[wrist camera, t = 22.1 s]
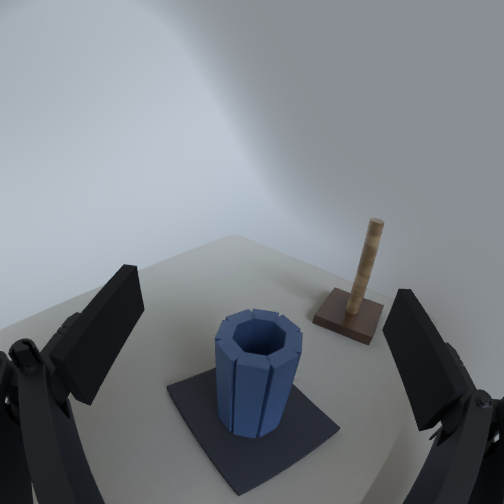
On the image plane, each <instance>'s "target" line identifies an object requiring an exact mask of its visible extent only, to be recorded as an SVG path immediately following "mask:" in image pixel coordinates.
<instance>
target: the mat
mask: <svg viewBox="0 0 504 504" xmlns="http://www.w3.org/2000/svg"><path fill="white" fill-rule="evenodd" d="M167 390H168V392H169V394H170V396H171V398H172V399H173V401H174V403H175V405H176V407H177V408H178V410H179V412H180V413H181V415H182V417H183V418H184V420H185V422H186V423H187V425H188V427H189V428H190V430H191V431H192V433H193V435H194V436H195V438H196V439H197V441H198V442H199V444H200V445H201V447H202V448H203V450H204V451H205V453H206V454H207V456H208V457H209V458H210V460H211V461H212V463H213V464H214V465H215V467H216V468H217V470H218V471H219V472H220V474H221V475H222V476H223V478H224V479H225V480H226V481H227V483H228V484H229V485H230V487H231V488H232V489H233V490H234V492H235V493H236V494H237V495H238V496H240V495H242V494H244V493H246V492H248V491H249V490H251V489H253V488H255V487H257V486H259V485H260V484H262V483H264V482H266V481H267V480H269V479H271V478H272V477H274V476H276V475H277V474H279V473H280V472H282V471H284V470H285V469H287V468H288V467H290V466H291V465H293V464H294V463H296V462H297V461H299V460H300V459H302V458H303V457H305V456H306V455H307V454H309V453H310V452H312V451H313V450H314V449H316V448H317V447H318V446H320V445H321V444H322V443H324V442H325V441H326V440H327V439H329V438H330V437H331V436H332V435H334V434H335V433H336V432H337V431H338V430H339V429H340V427H339V426H338V425H337V424H335V423H334V422H333V421H332V420H331V419H330V418H329V417H328V416H327V415H325V414H324V413H323V412H322V411H321V410H320V409H319V408H318V407H317V406H316V405H315V404H313V403H312V402H311V401H310V400H309V399H308V398H307V397H306V396H305V395H304V394H303V393H302V392H301V391H300V390H299V389H298V388H296V387H295V386H294V385H293V384H292V386H291V389H290V393H289V396H288V399H287V402H286V405H285V408H284V411H283V414H282V417H281V420H280V423H279V425H277V428H275V429H274V430H272V431H270V432H269V433H267V434H265V435H263V436H262V437H260V438H259V437H258V436H257V435H256V438H250V437H244V436H239V435H234V434H233V431H232V432H229V431H228V429H227V428H226V427H225V425H224V424H223V423H222V421H221V420H220V419H219V417H218V405H217V383H216V368H214V369H212V370H209V371H207V372H204V373H201V374H199V375H196V376H194V377H191V378H188V379H186V380H183V381H180V382H177V383H175V384H172V385H169V386H167Z"/></svg>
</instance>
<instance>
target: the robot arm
mask: <svg viewBox="0 0 504 504" xmlns="http://www.w3.org/2000/svg"><path fill="white" fill-rule="evenodd" d="M144 310H145V309H144V304H143V299H142V294H141V288H140V283H139V277H138V271H137V266H133V265H125V264H124V265H123V266H122V267H121V268H120V269H119V270H118V271H117V272H116V273H115V275H114V276H113V277H112V278H111V279H110V280H109V281H108V282H107V283H106V285H105V286H104V287H103V288H102V289H101V290H100V291H99V293H98V294H97V295H96V296H95V297H94V298H93V299H92V301H91V302H90V303H89V304H88V305H87V307H86V308H85V309H84V310H83V311H82V313H78V312H76V313H75V314H73V315H72V316H70V317H68V318H67V319H66V321H65V322H64V323H63V324H62V327H60V328H59V329H58V330H57V333H55V334H54V335H53V337H52V338H51V339H50V340H49V342H48V343H47V344H46V346H45V347H44V348H43V349H42V351H41V352H40V353H39V351H38V349H37V347H36V345H35V343H34V342H33V341H32V340H30V339H21V340H18V341H16V342H15V343H14V344H13V345H12V346H11V348H10V349H9V353H8V354H9V356H10V358H11V359H12V361H10V360H9V359H8V357H7V355H6V354H5V353H4V352H2V351H0V504H33V495H32V484H33V487H34V491H35V494H36V497H37V500H38V503H39V504H105V503H104V500H103V498H102V496H101V494H100V492H99V490H98V487H97V485H96V483H95V480H94V478H93V475H92V473H91V470H90V468H89V465H88V462H87V459H86V457H85V454H84V451H83V448H82V445H81V441H80V438H79V435H78V431H77V428H76V424H75V421H74V417H73V413H72V409H71V404H70V401H69V399H68V395H69V394H70V392H71V393H72V395H73V396H74V398H75V399H76V400H78V401H80V402H82V403H85V404H87V405H90V406H91V404H92V402H93V400H94V398H95V396H96V394H97V392H98V390H99V388H100V386H101V385H102V383H103V381H104V379H105V377H106V375H107V373H108V372H109V370H110V368H111V366H112V364H113V363H114V361H115V359H116V357H117V356H118V354H119V352H120V350H121V349H122V347H123V345H124V343H125V342H126V340H127V338H128V337H129V335H130V333H131V331H132V330H133V328H134V326H135V325H136V323H137V321H138V320H139V318H140V316H141V315H142V313H143V312H144ZM382 331H383V333H384V335H385V338H386V340H387V343H388V345H389V348H390V350H391V353H392V355H393V358H394V360H395V363H396V365H397V368H398V371H399V373H400V376H401V379H402V381H403V384H404V387H405V390H406V393H407V396H408V398H409V401H410V404H411V407H412V410H413V414H414V417H415V420H416V423H417V426H418V430H419V431H423V430H427V429H431V428H433V427H434V426H435V425H436V424H437V423H438V422H439V421H440V420H441V423H442V426H441V427H440V428H439V429H438V430H437V431H436V432H435V433H434V434H433V435H432V436H431V437H430V439H429V440H432V439H433V438H434V437H435V436H436V438H435V440H434V443H433V445H432V447H431V450H430V452H429V454H428V456H427V459H426V461H425V463H424V465H423V467H422V469H421V471H420V473H419V475H418V477H417V479H416V481H415V483H414V485H413V487H412V488H411V490H410V492H409V494H408V495H407V497H406V499H405V500H404V502H403V504H504V397H503V398H502V399H501V400H498V399H492V398H491V396H490V395H489V394H488V393H487V392H486V391H484V390H477V389H476V387H475V385H474V384H473V381H472V379H471V378H470V375H469V374H468V372H467V370H466V368H465V366H463V363H462V361H461V360H460V357H459V355H458V354H457V352H456V350H455V349H454V348H453V347H452V346H451V345H450V344H449V343H444V341H443V339H442V337H441V336H440V334H439V332H438V331H437V329H436V327H435V326H434V324H433V323H432V321H431V319H430V318H429V316H428V315H427V313H426V312H425V310H424V308H423V307H422V305H421V304H420V303H419V301H418V299H417V298H416V296H415V295H414V293H413V292H412V290H411V289H398V292H397V295H396V298H395V300H394V303H393V305H392V308H391V310H390V313H389V315H388V318H387V320H386V322H385V325H384V327H383V329H382ZM6 397H7V398H8V402H7V404H6V403H5V399H6ZM498 434H499V440H498V441H496V442H495V440H494V437H495V436H496V435H498ZM31 480H32V483H31Z"/></svg>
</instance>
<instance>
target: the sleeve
mask: <svg viewBox="0 0 504 504" xmlns="http://www.w3.org/2000/svg"><path fill="white" fill-rule="evenodd" d="M278 316H279V313H278V312H271V311H265V310H258V309H253V310H252V312H251V311H250V310H249V309H247V310H244V311H242V312H239V313H236V314H233V315H230V316H227V317H226V320H222V323H221V325H220V327H219V330H218V332H217V334H216V337H215V355H216V383H217V405H218V417H219V419H220V420H221V421H222V423H223V424H224V425H225V427H226V428H227V429H228V431H229V432H232V431H233V434H234V435H239V436H244V437H250V438H256V435H257V436H258V437H259V438H260V437H262V436H263V435H265V434H267V433H269V432H270V431H272V430H274V429H275V428H277V425H279V423H280V420H281V417H282V414H283V411H284V408H285V405H286V402H287V399H288V396H289V393H290V389H291V386H292V383H293V380H294V376H295V373H296V370H297V366H298V363H299V359H300V356H301V352H302V334H303V333H302V332H300V328H298V327H297V326H296V325H295V324H294V323H292V322H291V321H290V320H289V319H288V318H286V317H285V316H284V315H281V316H279V317H278Z"/></svg>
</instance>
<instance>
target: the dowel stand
mask: <svg viewBox="0 0 504 504" xmlns="http://www.w3.org/2000/svg"><path fill="white" fill-rule="evenodd" d="M383 226H384V222H383V221H382V220H380V219H377V218H370V221H369V225H368V230H367V234H366V239H365V242H364V247H363V251H362V255H361V258H360V262H359V266H358V270H357V273H356V277H355V281H354V284H353V287H352V291H351V293H349V292H346V291H343V290H341V289H338V288H334V289H333V291H332V292H331V294H330V295H329V296H328V298H327V299H326V300H325V302H324V303H323V304H322V306H321V307H320V309H319V310H318V311H317V312H316V314H315V315H314V319H313V323H315V324H317V325H320V326H322V327H324V328H327V329H329V330H332V331H334V332H337V333H339V334H342V335H344V336H347V337H349V338H352V339H354V340H357V341H360V342H362V343H365V344H367V345H369V344H370V342H371V340H372V337H373V335H374V332H375V329H376V327H377V324H378V321H379V318H380V315H381V312H382V309H383V306H384V305H381V304H379V303H376V302H373V301H371V300H368V299H365V298H363V297H364V293H365V290H366V287H367V284H368V281H369V277H370V274H371V271H372V268H373V264H374V261H375V257H376V253H377V250H378V246H379V242H380V238H381V234H382V230H383Z"/></svg>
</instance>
